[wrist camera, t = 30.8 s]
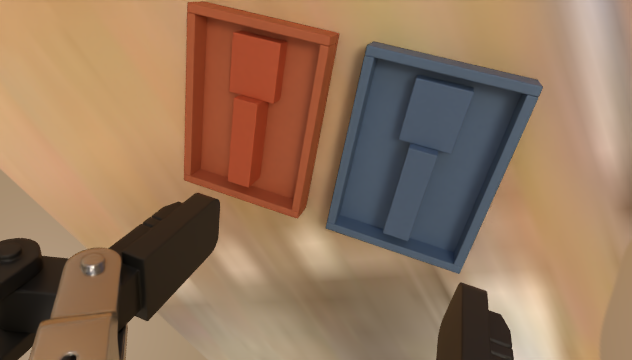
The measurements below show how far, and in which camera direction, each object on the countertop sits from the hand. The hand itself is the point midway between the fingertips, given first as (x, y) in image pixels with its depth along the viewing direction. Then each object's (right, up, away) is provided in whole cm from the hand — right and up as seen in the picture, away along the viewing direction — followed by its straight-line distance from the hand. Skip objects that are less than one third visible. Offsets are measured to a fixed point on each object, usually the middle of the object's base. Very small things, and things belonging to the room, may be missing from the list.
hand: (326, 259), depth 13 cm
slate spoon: (+6, +4, +14) cm, 16 cm away
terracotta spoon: (-5, +7, +16) cm, 18 cm away
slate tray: (+7, +4, +14) cm, 16 cm away
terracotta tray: (-5, +8, +17) cm, 19 cm away
